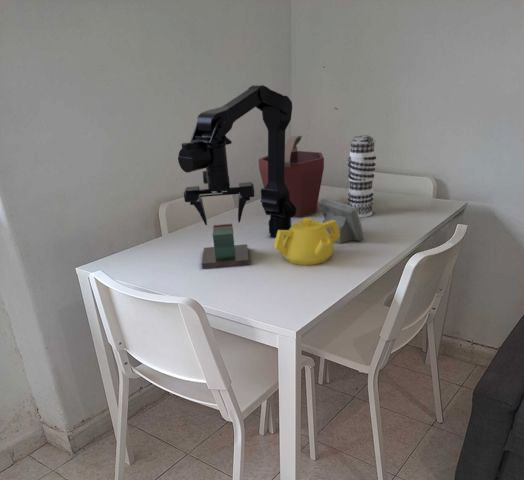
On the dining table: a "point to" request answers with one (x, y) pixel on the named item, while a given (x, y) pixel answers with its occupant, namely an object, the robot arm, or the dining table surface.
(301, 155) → the bucket
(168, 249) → the dining table surface
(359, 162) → the black white tall cylinder
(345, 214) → the digital clock
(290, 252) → the teapot
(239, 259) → the brown square board
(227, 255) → the green box
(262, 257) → the dining table surface
